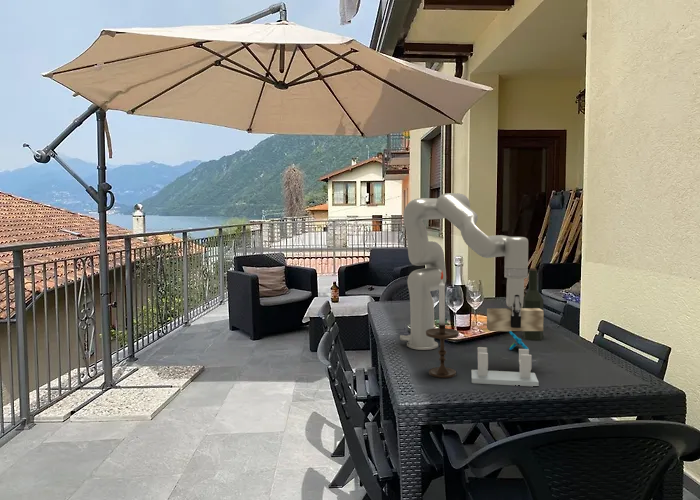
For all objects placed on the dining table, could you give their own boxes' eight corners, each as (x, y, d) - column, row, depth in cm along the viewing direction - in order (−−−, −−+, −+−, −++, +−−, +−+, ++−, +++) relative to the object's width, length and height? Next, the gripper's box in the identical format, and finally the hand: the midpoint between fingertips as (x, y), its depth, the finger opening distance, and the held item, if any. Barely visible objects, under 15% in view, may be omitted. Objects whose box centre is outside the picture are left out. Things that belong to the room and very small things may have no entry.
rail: (489, 331, 168) (489, 310, 167) (486, 328, 172) (487, 308, 171) (543, 331, 167) (543, 310, 167) (539, 328, 171) (539, 308, 171)
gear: (531, 350, 186) (511, 330, 188) (519, 361, 187) (500, 341, 189) (530, 347, 196) (511, 328, 199) (518, 357, 197) (500, 338, 200)
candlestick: (436, 366, 174) (435, 268, 171) (464, 372, 167) (464, 269, 165) (420, 375, 166) (419, 271, 163) (449, 381, 159) (448, 273, 156)
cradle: (471, 383, 157) (471, 353, 156) (471, 374, 165) (471, 346, 165) (538, 386, 152) (538, 356, 152) (534, 377, 161) (534, 348, 160)
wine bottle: (521, 339, 208) (522, 269, 206) (522, 335, 216) (523, 267, 214) (542, 341, 205) (543, 269, 203) (543, 336, 213) (543, 267, 211)
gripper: (502, 269, 177) (501, 319, 179) (506, 276, 161) (505, 331, 162) (524, 270, 175) (523, 320, 177) (530, 276, 159) (529, 332, 161)
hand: (514, 325), depth 170 cm, fingers closed on rail, 4 cm apart
